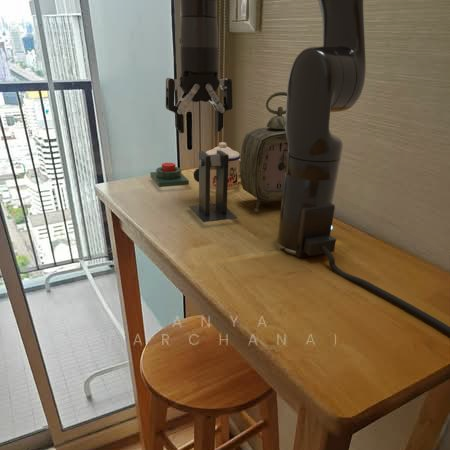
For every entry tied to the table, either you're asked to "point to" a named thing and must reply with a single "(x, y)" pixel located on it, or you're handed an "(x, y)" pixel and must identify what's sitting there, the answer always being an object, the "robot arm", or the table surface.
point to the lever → (214, 165)
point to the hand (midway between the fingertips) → (199, 131)
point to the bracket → (220, 207)
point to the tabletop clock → (265, 158)
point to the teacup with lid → (232, 166)
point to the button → (168, 167)
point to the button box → (169, 178)
